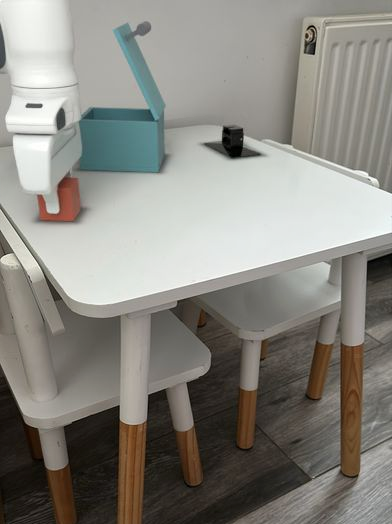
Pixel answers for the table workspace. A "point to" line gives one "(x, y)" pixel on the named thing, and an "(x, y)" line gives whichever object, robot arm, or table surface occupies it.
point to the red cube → (63, 201)
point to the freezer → (121, 140)
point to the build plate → (232, 143)
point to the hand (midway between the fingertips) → (60, 204)
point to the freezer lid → (140, 65)
